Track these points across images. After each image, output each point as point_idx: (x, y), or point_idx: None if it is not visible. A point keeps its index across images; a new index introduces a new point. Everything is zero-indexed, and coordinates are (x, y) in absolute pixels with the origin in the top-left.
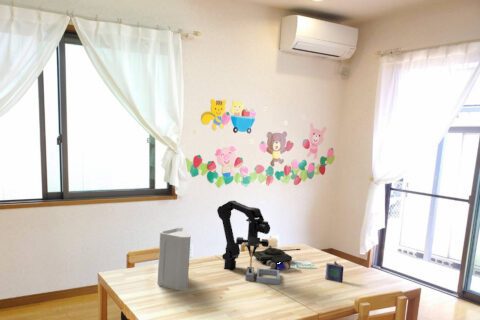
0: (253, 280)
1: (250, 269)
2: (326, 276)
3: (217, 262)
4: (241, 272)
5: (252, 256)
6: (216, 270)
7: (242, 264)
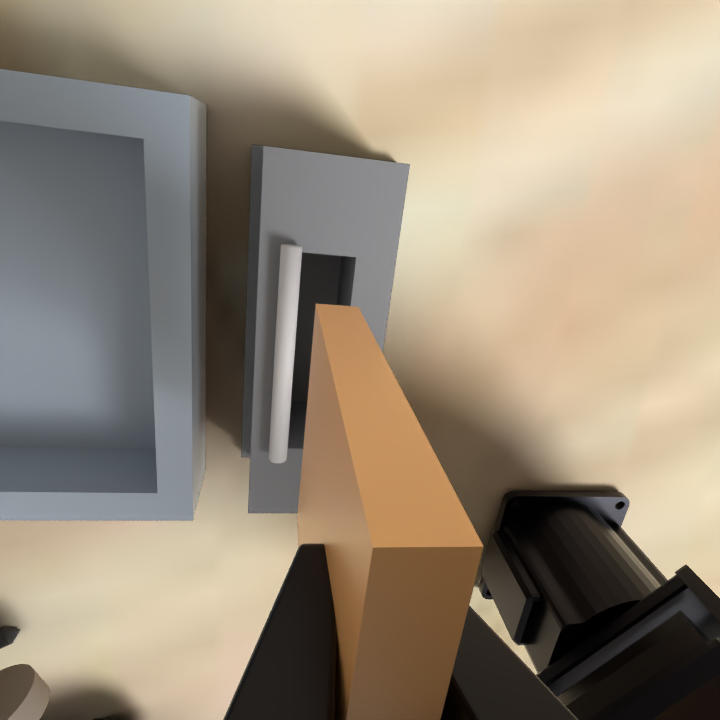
0: (259, 175)
1: None
2: None
3: None
4: None
5: (315, 544)
6: (708, 463)
7: None
